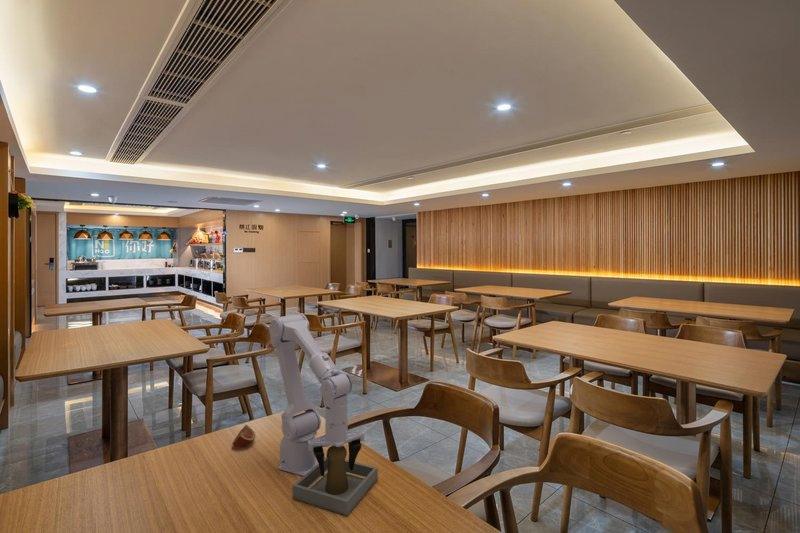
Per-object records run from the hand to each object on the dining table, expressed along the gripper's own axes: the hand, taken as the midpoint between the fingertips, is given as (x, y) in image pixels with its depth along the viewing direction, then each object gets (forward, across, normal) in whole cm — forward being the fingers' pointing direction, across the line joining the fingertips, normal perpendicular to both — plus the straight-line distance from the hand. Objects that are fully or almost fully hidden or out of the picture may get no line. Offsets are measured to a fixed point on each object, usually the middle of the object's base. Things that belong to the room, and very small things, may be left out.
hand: (336, 471), depth 106 cm
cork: (+4, 0, 0) cm, 5 cm away
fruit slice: (+5, -23, +34) cm, 41 cm away
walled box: (+5, 0, 0) cm, 5 cm away
